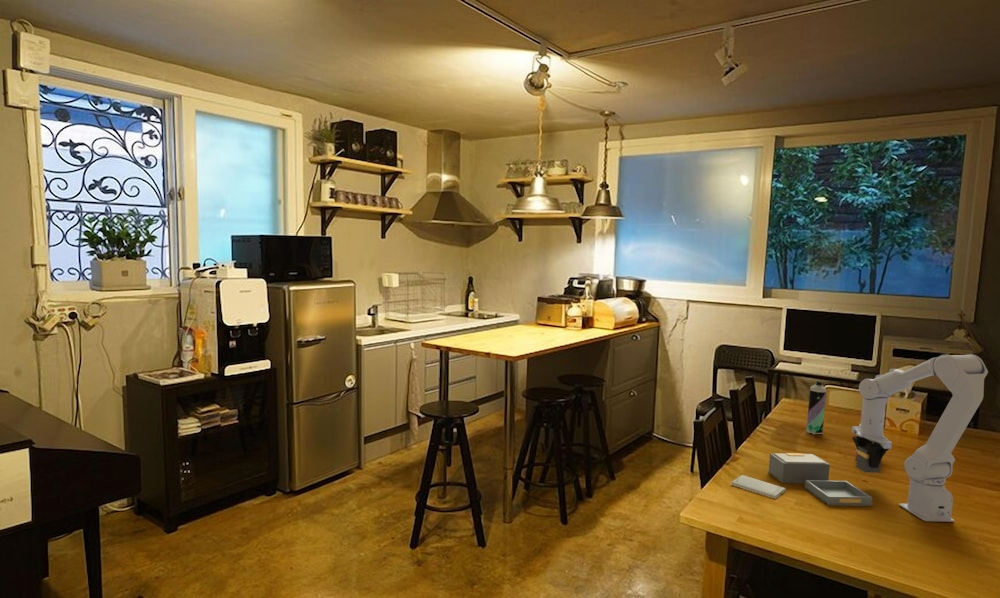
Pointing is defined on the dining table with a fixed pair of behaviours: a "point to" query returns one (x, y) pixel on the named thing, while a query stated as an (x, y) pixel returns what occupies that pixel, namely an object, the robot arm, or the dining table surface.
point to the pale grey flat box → (798, 467)
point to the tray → (838, 493)
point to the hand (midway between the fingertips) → (868, 464)
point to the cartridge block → (865, 460)
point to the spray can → (816, 408)
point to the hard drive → (758, 486)
